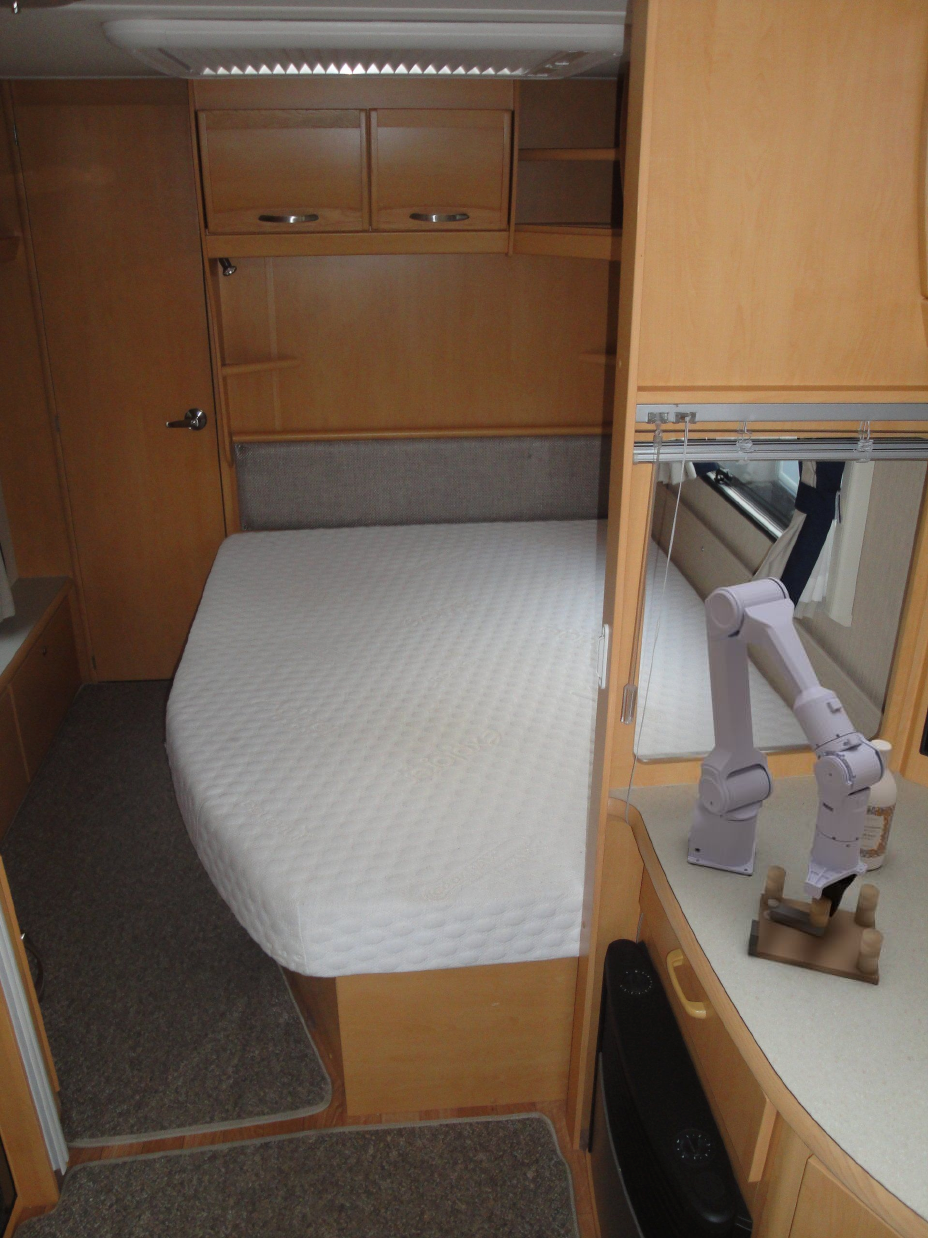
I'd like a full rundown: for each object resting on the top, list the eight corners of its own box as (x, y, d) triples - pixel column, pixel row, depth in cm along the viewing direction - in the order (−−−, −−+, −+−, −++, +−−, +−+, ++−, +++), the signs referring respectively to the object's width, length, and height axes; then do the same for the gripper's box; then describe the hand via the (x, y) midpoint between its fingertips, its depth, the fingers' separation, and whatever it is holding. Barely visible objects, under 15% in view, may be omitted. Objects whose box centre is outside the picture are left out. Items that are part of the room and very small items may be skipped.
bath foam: (835, 867, 140) (856, 753, 132) (833, 839, 146) (853, 729, 138) (885, 875, 138) (910, 760, 130) (880, 847, 144) (904, 736, 136)
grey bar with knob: (763, 917, 128) (768, 888, 126) (768, 907, 130) (773, 878, 128) (823, 939, 124) (829, 909, 122) (827, 928, 126) (833, 898, 124)
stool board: (747, 955, 123) (753, 917, 121) (753, 897, 134) (758, 861, 131) (877, 985, 118) (886, 946, 116) (873, 922, 129) (881, 885, 126)
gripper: (849, 869, 113) (834, 955, 118) (890, 814, 123) (875, 897, 128) (793, 846, 117) (781, 930, 122) (837, 795, 127) (824, 875, 132)
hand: (825, 912), depth 125 cm, fingers closed, pressing on grey bar with knob
